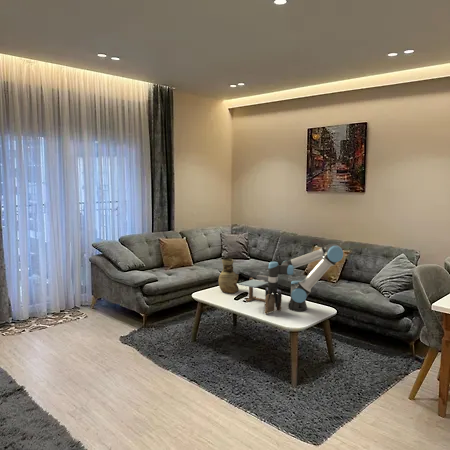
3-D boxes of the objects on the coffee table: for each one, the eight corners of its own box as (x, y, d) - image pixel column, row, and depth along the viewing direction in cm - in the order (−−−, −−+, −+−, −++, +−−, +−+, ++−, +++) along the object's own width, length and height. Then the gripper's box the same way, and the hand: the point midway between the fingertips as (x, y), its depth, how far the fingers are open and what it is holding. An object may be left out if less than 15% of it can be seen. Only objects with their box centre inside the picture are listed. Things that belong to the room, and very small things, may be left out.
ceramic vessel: (244, 292, 374) (245, 260, 370) (225, 295, 363) (225, 262, 359) (233, 287, 390) (233, 256, 386) (214, 290, 379) (214, 259, 375)
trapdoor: (274, 285, 347) (274, 277, 346) (254, 291, 320) (255, 282, 320) (258, 282, 356) (258, 274, 356) (238, 288, 329) (238, 279, 329)
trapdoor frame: (274, 302, 344) (275, 280, 341) (267, 306, 334) (268, 283, 331) (252, 297, 356) (253, 276, 354) (245, 301, 346) (246, 279, 344)
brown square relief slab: (266, 314, 312) (266, 295, 311) (263, 313, 316) (263, 294, 314) (282, 310, 322) (282, 292, 321) (278, 309, 326) (278, 291, 324)
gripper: (285, 282, 314) (284, 310, 317) (265, 278, 324) (265, 306, 327) (280, 284, 308) (280, 313, 311) (260, 280, 318) (260, 309, 321)
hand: (272, 309), depth 319 cm, fingers closed on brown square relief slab, 4 cm apart
